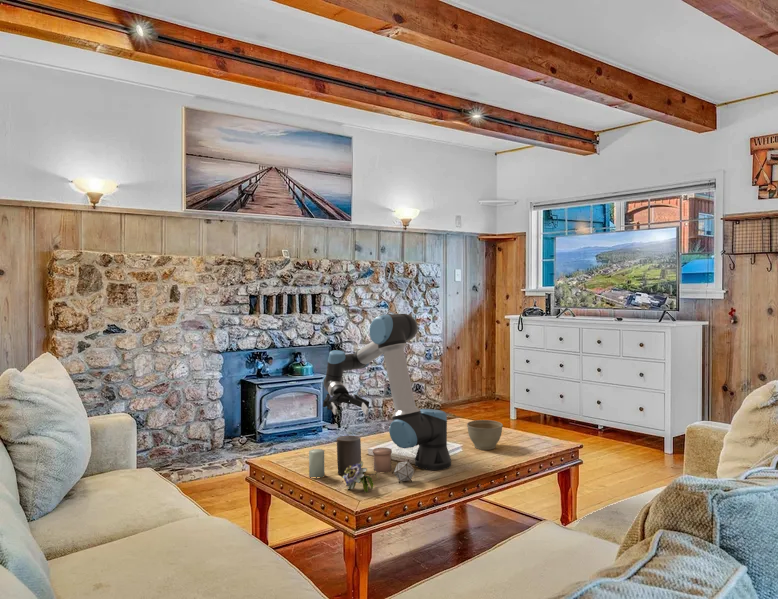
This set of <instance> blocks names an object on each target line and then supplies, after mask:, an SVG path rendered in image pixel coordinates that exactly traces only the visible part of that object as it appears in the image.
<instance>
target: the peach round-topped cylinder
mask: <svg viewBox="0 0 778 599" xmlns="http://www.w3.org/2000/svg"><path fill="white" fill-rule="evenodd" d="M372 454H373V471H374V472H375V471H376V473H380V472H384V473H389V472H390V471H392V466H391V465H392V454H393V450H392V448H389V447H376V448H373V449H372Z"/></svg>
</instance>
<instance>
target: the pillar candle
mask: <svg viewBox="0 0 778 599" xmlns="http://www.w3.org/2000/svg"><path fill="white" fill-rule="evenodd" d="M361 441H362V440H361V436H357V435H342V436H339V437H337V438H336V458H337V462H336V464H337V474H339V475H341V476H344V475H345V471H346V468H347V467H348V466H349V465H350V466H353V465H355V464H357V463H358V464H359V463H360V462H361V461H362V449H361V448H362V447H361V443H362V442H361Z"/></svg>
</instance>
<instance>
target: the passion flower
mask: <svg viewBox="0 0 778 599" xmlns="http://www.w3.org/2000/svg"><path fill="white" fill-rule="evenodd" d="M363 465H364V461H363V460H361V462H360V463H359V464H358V463H357V464H355V465H353V466H350V465H349V466H348V467H347V468H346V471H345V475H341V476H342V478H343V479H344V481H345V487H347V489H350V490H353V489H355V487H356V483H357V484H359V483H361V484H362V487H363V491H364V492H365V493H367V492H368V493H369V486H370V490H371V491H372V490H373V488H374V486H375V485H374V482H373V478H372V477H371V476H373V475H375V476H376V480H378V479H379V477H378V474H377V473H378V472H376V473H372V474H370V475H366V472H367V471H368V467H363Z"/></svg>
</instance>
